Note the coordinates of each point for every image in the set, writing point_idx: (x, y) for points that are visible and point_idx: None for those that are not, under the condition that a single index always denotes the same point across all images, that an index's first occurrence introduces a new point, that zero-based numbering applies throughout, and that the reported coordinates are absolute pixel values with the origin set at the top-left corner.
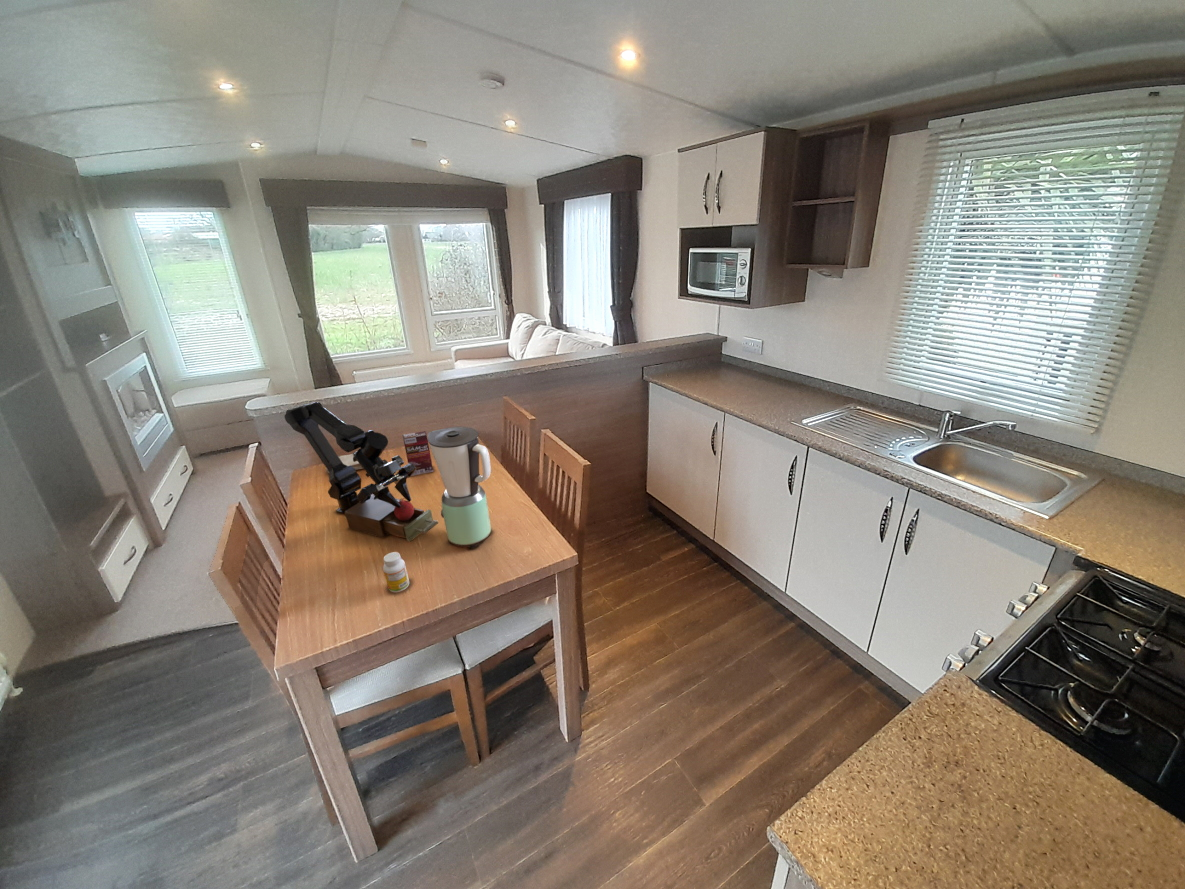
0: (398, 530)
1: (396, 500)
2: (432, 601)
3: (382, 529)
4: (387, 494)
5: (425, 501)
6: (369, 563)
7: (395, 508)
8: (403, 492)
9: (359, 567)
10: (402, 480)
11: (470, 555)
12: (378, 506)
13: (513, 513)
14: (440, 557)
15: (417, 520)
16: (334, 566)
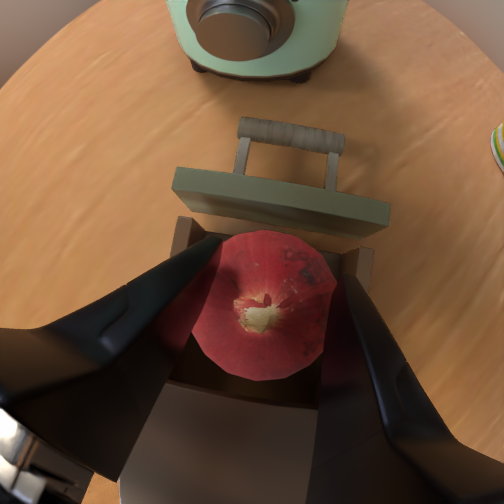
0: None
1: (360, 319)
2: (493, 69)
3: None
4: (435, 426)
5: None
6: (476, 313)
7: (320, 347)
8: (168, 339)
9: (492, 331)
10: (32, 374)
11: None
12: (223, 500)
13: (119, 10)
14: (385, 83)
15: (302, 185)
16: (487, 411)
